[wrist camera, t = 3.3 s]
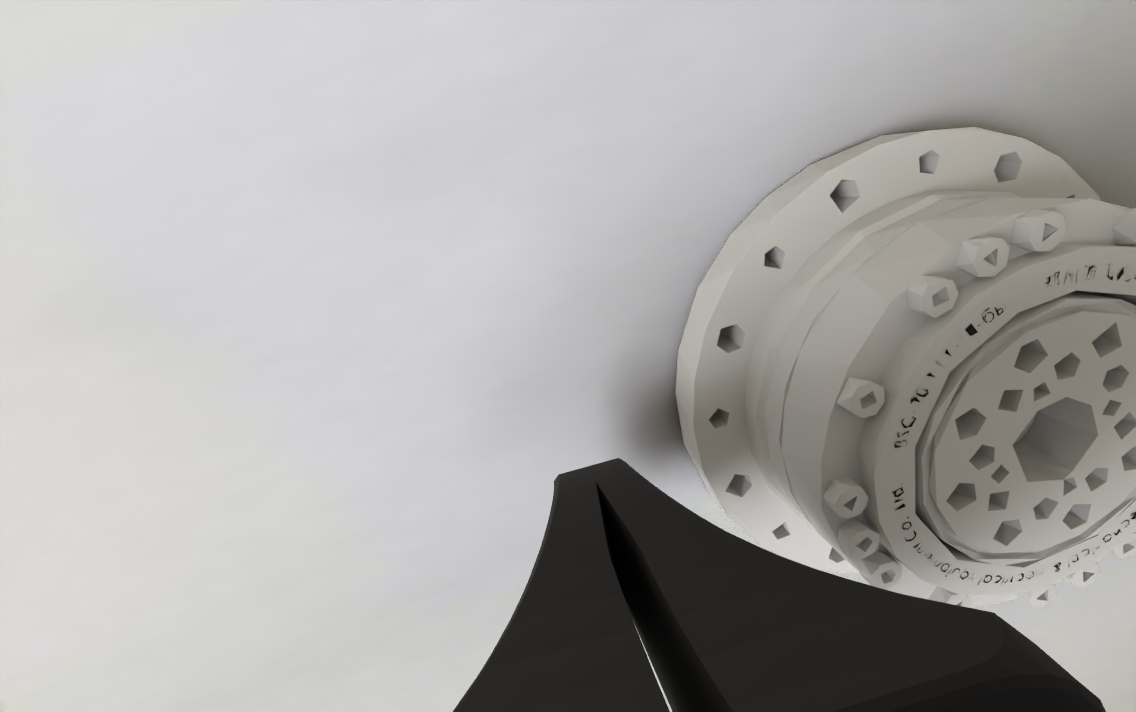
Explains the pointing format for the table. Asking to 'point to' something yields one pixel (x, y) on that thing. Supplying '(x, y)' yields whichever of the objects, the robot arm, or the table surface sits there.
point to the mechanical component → (924, 370)
